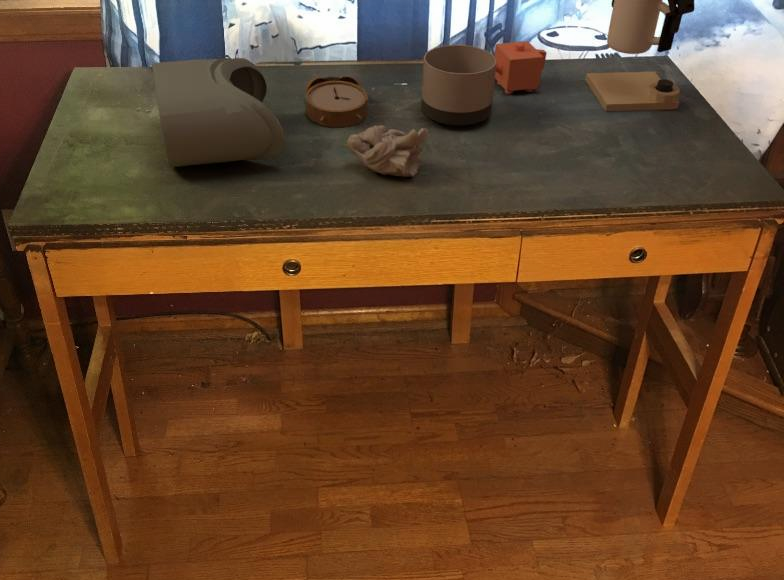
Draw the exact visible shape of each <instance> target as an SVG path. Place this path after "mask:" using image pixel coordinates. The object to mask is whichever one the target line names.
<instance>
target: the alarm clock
mask: <svg viewBox="0 0 784 580" xmlns="http://www.w3.org/2000/svg"><path fill="white" fill-rule="evenodd" d="M305 104H306V111H305V112H306V115H307V117H308V119H309V120H311V121H312V122H313V123H315V124H317V125H320V126H322V127H328V128H346V127H347V128H348V127H352V126H354V125H357V124H359V123H362V122H363V121H364V120H365V119H366V117H367V115H368V93H367V91H366V89H364V88H363V87H361V84H360V82H359V81H358V79H357V78H356V77H354V76H352V75H343V76H324V77H321V76H315V77H313V78H311V79H310V80H308V82H307V84H306V87H305Z"/></svg>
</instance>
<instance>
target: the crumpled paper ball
mask: <svg viewBox="0 0 784 580" xmlns="http://www.w3.org/2000/svg"><path fill="white" fill-rule="evenodd" d="M428 134H429V130H428V129H427V128H425V127H423V128H420V129H419V130H417V129H414V128H412V129H411V130H410V131H409V132H408V133H406V132H405V131H402V130H398V129H394V128H390V129H388V130H387V128H386V126H385V125H383V124H381V125H373V126H371V127H368V128H366V129H365V130H364V131H360V132H359V133H358V134H357V133H353V134H350V135H349V137H347V140H346V147H347V149H348V150H349V151H350V152H351V153H352V154H353V155H355V156H356V157H358V158H359V159H360V160H361V161H362V163H363V165H364V166H365V167H366V168H368V169H369V170H370V171H373V172H376V173H379V174H381V175H384V176H386V175H390V176H394V177H403V178H405V177H406V178H408V177H411V178H413V177H415V176H416V175H417V174H418V170H419V168H420V165H421V163H422V162H421V159H420V158H419V157H418V156H419V155H420V154H421V153H422V152H423V148H422V147H419V146H420V145H421V144H422V143H424V142H425V140H426V138H427V137H428Z"/></svg>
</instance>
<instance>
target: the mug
mask: <svg viewBox="0 0 784 580" xmlns="http://www.w3.org/2000/svg"><path fill="white" fill-rule="evenodd" d="M669 12H670V9H669V4H668V3H666V2H664V1H663V0H614V5H613V7H612V11H611V15H612V16H610V20H611V21H610V20H609V25H610V26H608V32H607V38H606V43H607V45H608V47H609V49H612V50H613V51H615V52H618V53H622V54H628V55H639V54H645V53H646V52H648V51H650V50H651V48H652V47H653V46H658V44H659V40H660V36H655V35H656V30H657V26H658V21H659V18H660V13H662V14H663V15H664V16H665V15H666V13H669Z"/></svg>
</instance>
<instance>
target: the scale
mask: <svg viewBox="0 0 784 580" xmlns="http://www.w3.org/2000/svg"><path fill="white" fill-rule="evenodd" d="M659 80H662V79H661V77H659V75H658V74H657V73H656V71H627V72H626V71H625V72H624V71H623V72H590V73H589V72H587V73H585V79H584V81H585V82H586V84H587V85H588V87H589V88H590V90H591V91H592V93H593V94H594V96H595V98H596V100H598V102H599V103H600V106H601V107H602V109H603V110H604V112H627V111H628V112H629V111H633V112H634V111H662V110H666V111H667V110H678V109H679V106H680V101H679V100H678V99H679V96H680V92H681V89H680V88H679V87H678V86H677V85H675V84H673V87H672V91H671V92H667V93H665V92H660V91H658V90H656V88H657V84H658V81H659Z"/></svg>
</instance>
